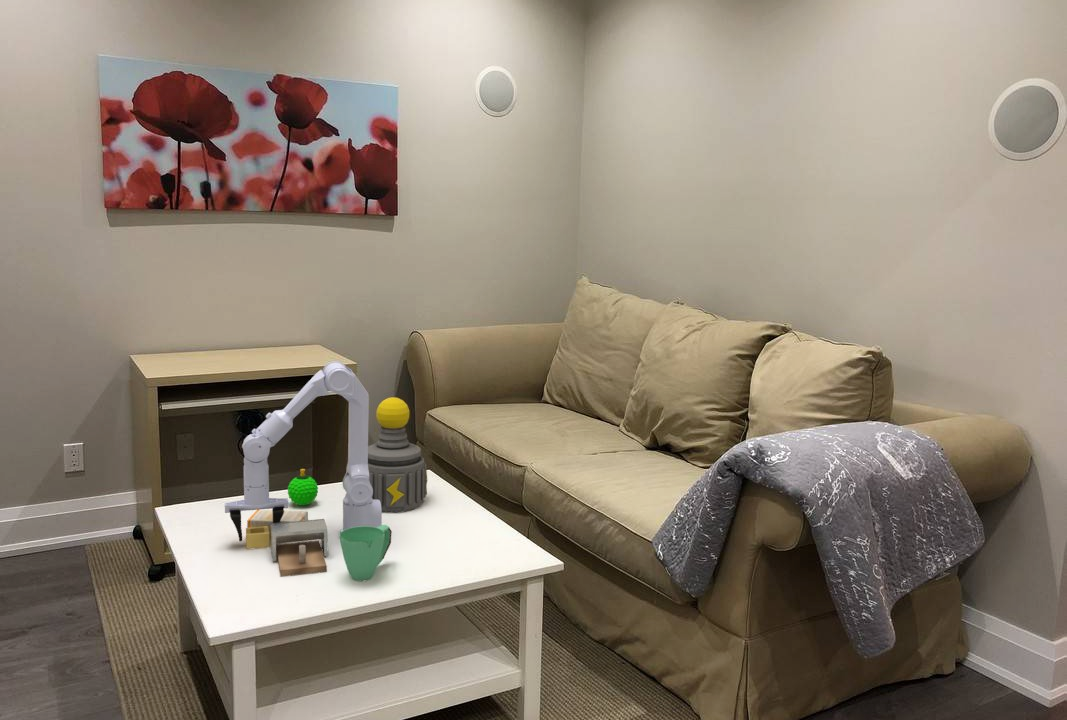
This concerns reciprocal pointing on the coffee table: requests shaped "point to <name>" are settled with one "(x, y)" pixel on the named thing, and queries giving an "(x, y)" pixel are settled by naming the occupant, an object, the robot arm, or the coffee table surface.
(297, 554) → the pin board
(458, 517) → the coffee table surface
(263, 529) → the hollow square block
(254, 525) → the supplement box
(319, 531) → the cover
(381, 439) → the decorative lamp
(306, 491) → the ornament
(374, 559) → the mug
